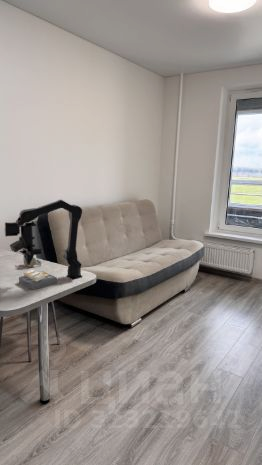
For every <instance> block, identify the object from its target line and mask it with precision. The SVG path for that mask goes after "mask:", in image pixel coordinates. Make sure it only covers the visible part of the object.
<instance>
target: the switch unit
mask: <svg viewBox="0 0 262 465" xmlns="http://www.w3.org/2000/svg"><path fill="white" fill-rule="evenodd" d="M38 272H39V273H40V274H44V275H45V278H44V279H41V280H39V281H37V282H35V281H33V279H30V278H28V277H26V276H24V275H22V276H21V275H20V276H19V277H18V283H20V284H22V285H23V286H25V287H27V288H28V289H30V290H31V291H32V290H37V289H39V288H44V287H47V286H51V285H54V284H57V283H58V280H57V279H58V278H57V276H54V275H52V274H50V273H48V272H45V271H44V270H43V271H38Z"/></svg>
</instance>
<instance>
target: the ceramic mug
mask: <svg viewBox="0 0 262 465" xmlns="http://www.w3.org/2000/svg"><path fill="white" fill-rule="evenodd" d="M22 258H23V263H24V264H23V265H25V267H27V268H32V267H35V266H39V267H40V266H42V264H43V262H42V261H41V260H39V259H37V255H34V256H33V258H32V260H31V263H30V264H29V265H27V263H26V260H25V258H24V256H23V257H22Z"/></svg>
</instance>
